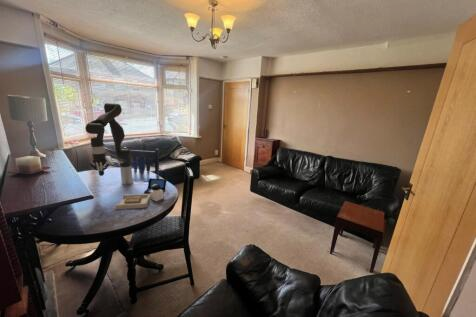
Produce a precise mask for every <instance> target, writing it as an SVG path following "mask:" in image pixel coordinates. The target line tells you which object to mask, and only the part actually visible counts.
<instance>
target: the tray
mask: <svg viewBox="0 0 476 317" xmlns="http://www.w3.org/2000/svg"><path fill="white" fill-rule="evenodd" d="M133 196H141V199H142V200H141V202H140V203H136V204H124V201H125V200H126V198H127V197H133ZM150 200H151V199H150V194H145V193H139V194H138V193H135V194H134V193H133V194H122V199H121V201H120V202H119V203H118V204H115V205H114V206H115V210H122V209H123V210H124V209H139V208H142V209H143V208H147V206H148V204H149V202H150Z"/></svg>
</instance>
